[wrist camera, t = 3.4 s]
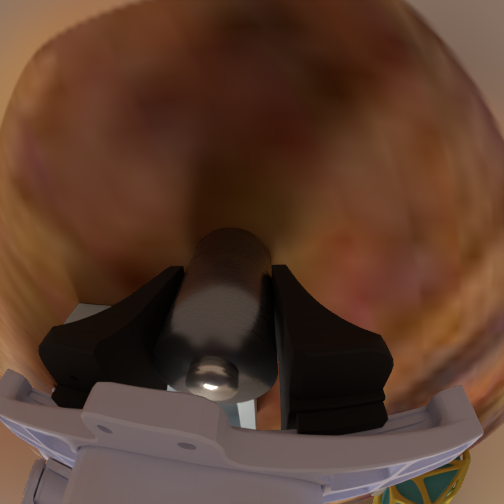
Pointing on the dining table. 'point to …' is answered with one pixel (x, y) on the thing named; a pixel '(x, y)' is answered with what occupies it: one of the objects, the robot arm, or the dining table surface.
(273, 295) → the robot arm
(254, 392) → the battery cell
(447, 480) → the decorative object
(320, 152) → the dining table surface
